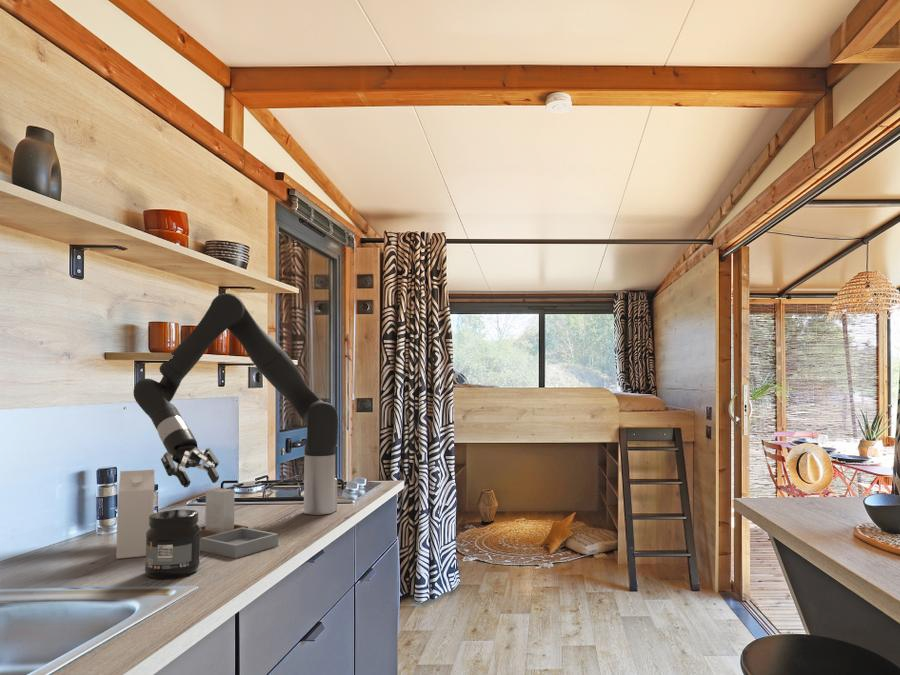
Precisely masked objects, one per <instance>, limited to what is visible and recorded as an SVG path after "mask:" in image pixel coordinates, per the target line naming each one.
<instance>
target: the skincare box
mask: <svg viewBox="0 0 900 675" xmlns="http://www.w3.org/2000/svg"><path fill="white" fill-rule="evenodd" d="M235 491H236V490H235V489H233V488H232V489H231V488H230V489H229V488H220V487H218V488H212V489H207V490H205V515H204V516H205V517H204V518H205V520H204V521H205V523H204V525H205V530H209V531H214V532H219V533H220V532H224V531H228V530H232V529H234V524H235Z"/></svg>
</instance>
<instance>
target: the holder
mask: <svg viewBox="0 0 900 675" xmlns="http://www.w3.org/2000/svg"><path fill="white" fill-rule="evenodd" d="M199 526H200V528H201V532H200V538H203V537H207V536H211V535H215V534H219V532H214V531H209V530H205V524H204V525H199ZM239 528H249V526H247V525H241V524H236V523H234V529H232V530H235V529H239ZM228 531H231V530H228ZM224 532H227V531H224ZM220 533H223V532H220Z"/></svg>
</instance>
